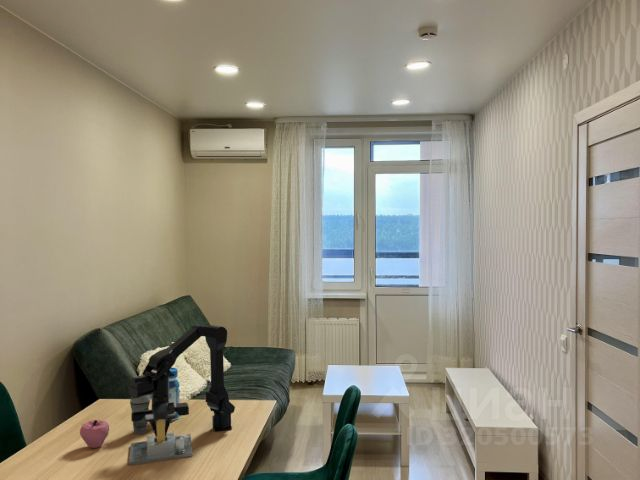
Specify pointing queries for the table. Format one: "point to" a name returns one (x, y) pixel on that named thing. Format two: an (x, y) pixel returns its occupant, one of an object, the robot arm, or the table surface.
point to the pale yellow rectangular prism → (160, 430)
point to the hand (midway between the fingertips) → (160, 436)
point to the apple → (94, 432)
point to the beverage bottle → (174, 390)
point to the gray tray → (160, 449)
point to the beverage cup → (142, 425)
